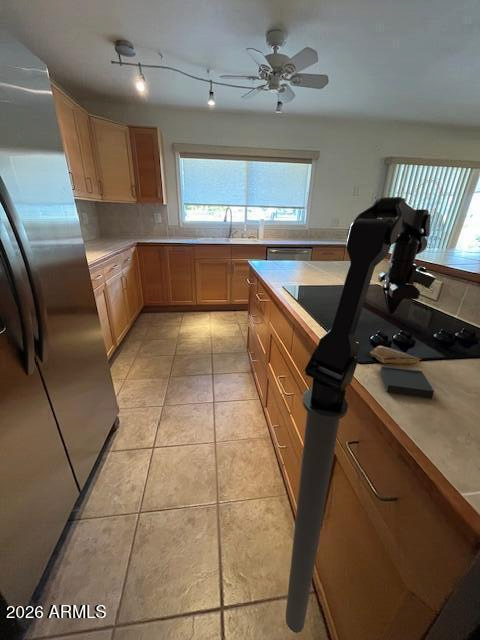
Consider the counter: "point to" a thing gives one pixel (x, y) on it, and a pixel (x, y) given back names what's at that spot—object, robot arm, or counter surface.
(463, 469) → the counter surface
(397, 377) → the black pad
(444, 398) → the counter surface
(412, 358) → the sandwich half
